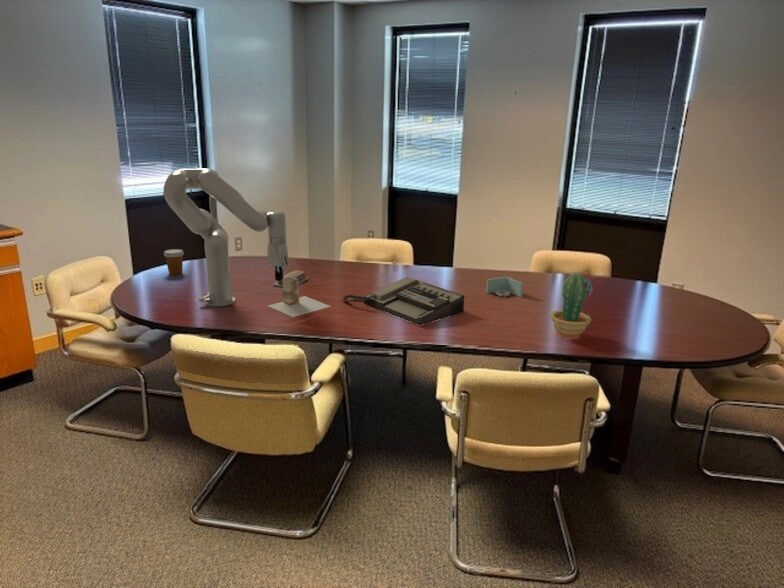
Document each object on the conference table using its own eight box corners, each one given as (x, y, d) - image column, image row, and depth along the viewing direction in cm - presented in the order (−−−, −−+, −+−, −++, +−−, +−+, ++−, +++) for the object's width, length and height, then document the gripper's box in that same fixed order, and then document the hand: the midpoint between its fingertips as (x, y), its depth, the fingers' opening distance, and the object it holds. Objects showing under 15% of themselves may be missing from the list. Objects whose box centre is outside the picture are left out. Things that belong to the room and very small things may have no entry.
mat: (293, 318, 230) (293, 317, 230) (267, 306, 243) (267, 305, 243) (331, 307, 244) (331, 306, 244) (304, 297, 257) (304, 296, 256)
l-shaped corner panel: (485, 294, 268) (487, 279, 266) (505, 291, 274) (507, 276, 271) (501, 301, 258) (502, 286, 256) (521, 298, 264) (523, 283, 261)
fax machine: (337, 302, 251) (336, 282, 249) (393, 288, 273) (394, 270, 271) (405, 332, 220) (406, 309, 217) (463, 313, 242) (464, 292, 239)
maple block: (289, 305, 244) (288, 281, 241) (283, 302, 247) (282, 278, 244) (299, 302, 247) (298, 279, 244) (292, 300, 251) (291, 276, 247)
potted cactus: (572, 346, 209) (580, 282, 201) (539, 333, 221) (546, 272, 213) (597, 337, 217) (605, 276, 210) (564, 325, 229) (571, 266, 221)
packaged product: (291, 268, 286) (308, 270, 283) (291, 277, 288) (308, 280, 285) (272, 277, 270) (290, 280, 267) (272, 287, 272) (290, 289, 269)
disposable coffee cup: (166, 271, 291) (164, 249, 288) (185, 270, 294) (183, 248, 290) (165, 276, 283) (162, 253, 279) (185, 275, 285) (183, 252, 282)
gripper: (260, 238, 247) (262, 277, 253) (280, 244, 237) (281, 285, 243) (275, 235, 252) (276, 274, 258) (294, 241, 242) (296, 282, 248)
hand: (279, 279), depth 251 cm, fingers closed
